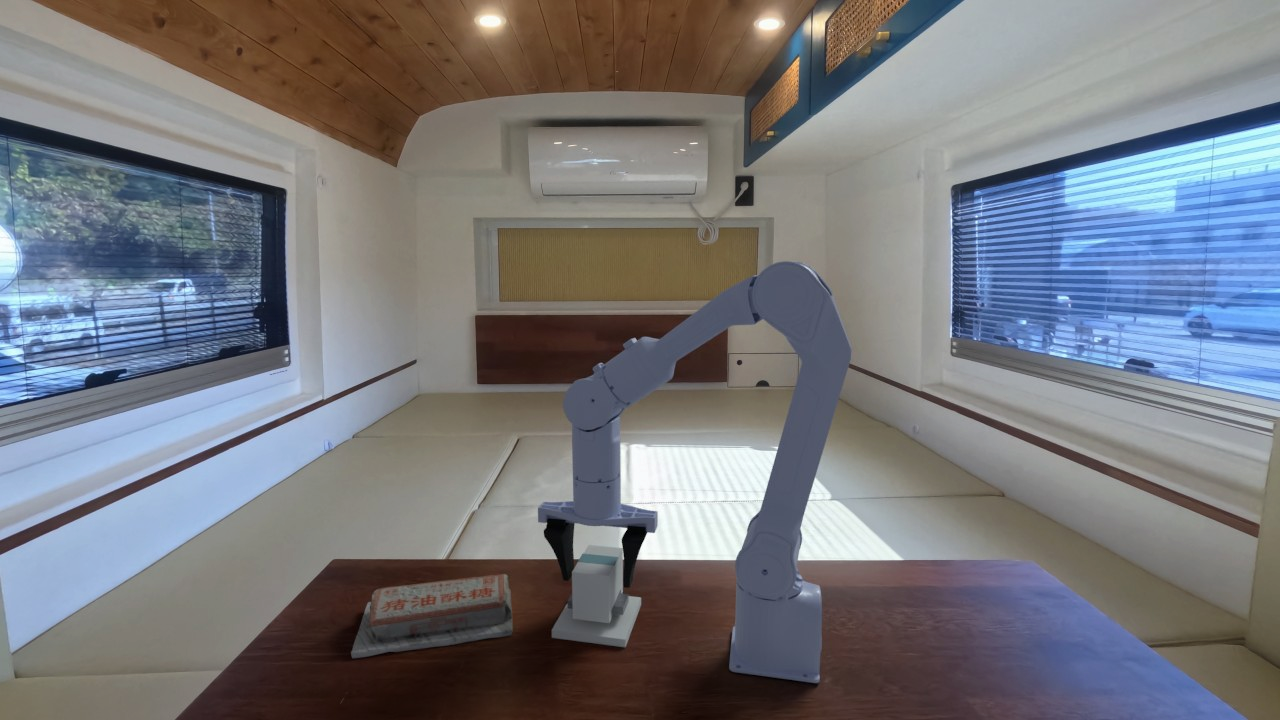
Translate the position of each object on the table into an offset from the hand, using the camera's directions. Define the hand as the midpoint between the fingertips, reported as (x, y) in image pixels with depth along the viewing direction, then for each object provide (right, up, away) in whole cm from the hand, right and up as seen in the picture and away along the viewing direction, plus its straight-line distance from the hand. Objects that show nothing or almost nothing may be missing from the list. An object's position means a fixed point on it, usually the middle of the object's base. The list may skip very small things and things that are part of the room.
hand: (598, 580), depth 73 cm
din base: (0, -5, +1) cm, 5 cm away
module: (0, -3, +1) cm, 3 cm away
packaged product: (-20, -6, +1) cm, 21 cm away
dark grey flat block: (0, -3, +1) cm, 3 cm away
